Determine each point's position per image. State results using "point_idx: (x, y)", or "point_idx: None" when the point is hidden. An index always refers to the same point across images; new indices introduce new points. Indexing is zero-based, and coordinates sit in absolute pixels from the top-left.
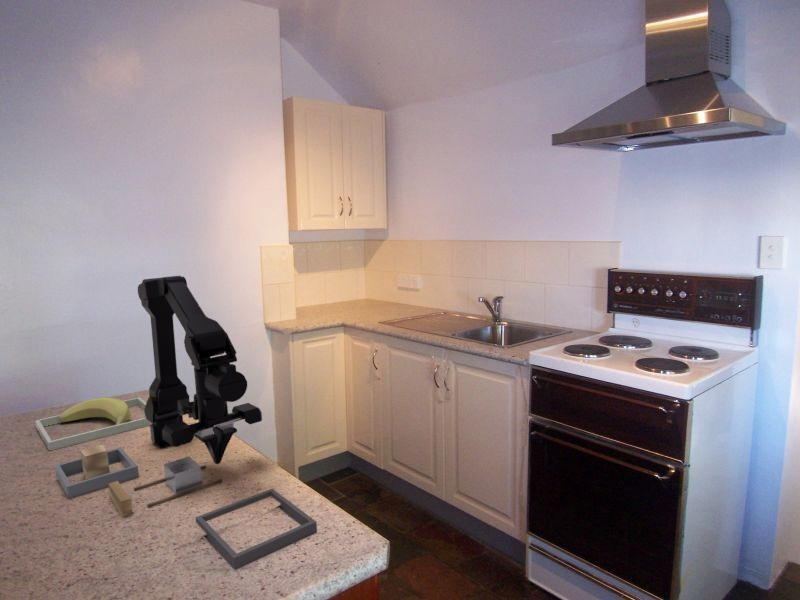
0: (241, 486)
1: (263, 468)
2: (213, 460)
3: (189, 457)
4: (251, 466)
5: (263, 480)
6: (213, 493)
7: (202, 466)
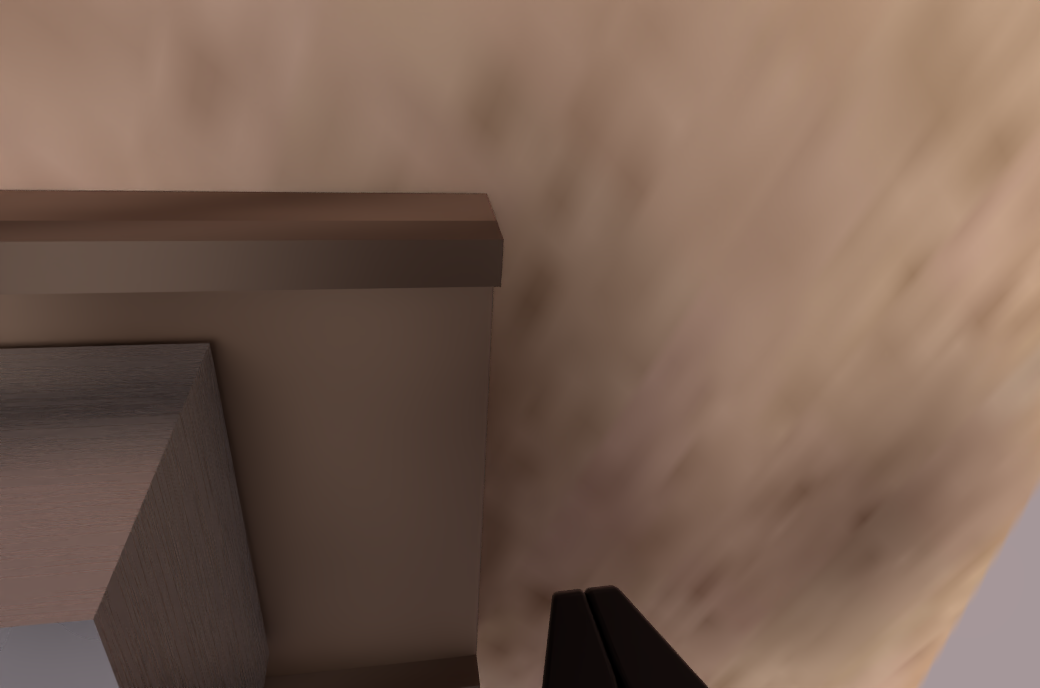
0: None
1: (941, 512)
2: (548, 631)
3: (86, 675)
4: (926, 412)
5: (772, 672)
6: None
7: (448, 263)
